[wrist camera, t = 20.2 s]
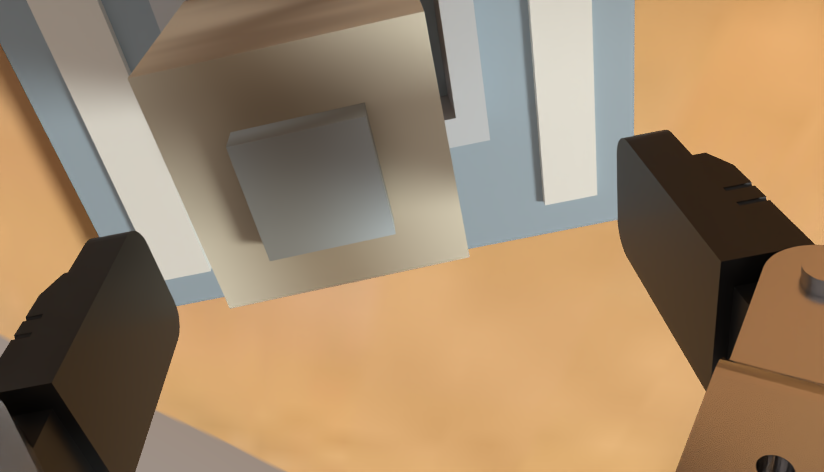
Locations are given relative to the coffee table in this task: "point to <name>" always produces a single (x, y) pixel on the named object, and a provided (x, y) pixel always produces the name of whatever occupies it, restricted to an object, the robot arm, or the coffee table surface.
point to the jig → (459, 92)
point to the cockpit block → (304, 141)
